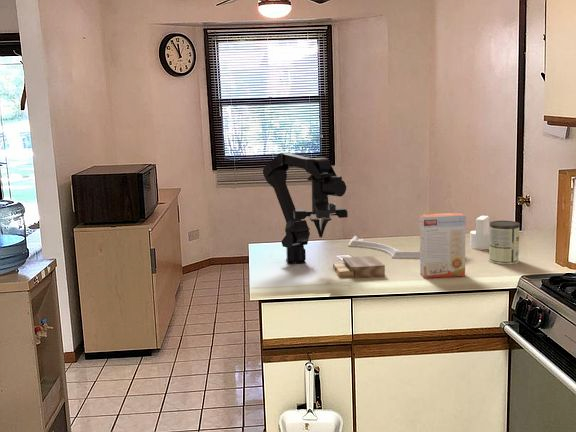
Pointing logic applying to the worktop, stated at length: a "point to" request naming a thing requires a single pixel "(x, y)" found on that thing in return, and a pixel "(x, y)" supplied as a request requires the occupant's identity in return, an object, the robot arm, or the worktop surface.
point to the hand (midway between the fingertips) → (320, 237)
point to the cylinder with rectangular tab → (480, 234)
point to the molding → (384, 249)
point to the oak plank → (343, 270)
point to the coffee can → (504, 242)
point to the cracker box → (442, 245)
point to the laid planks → (365, 266)
